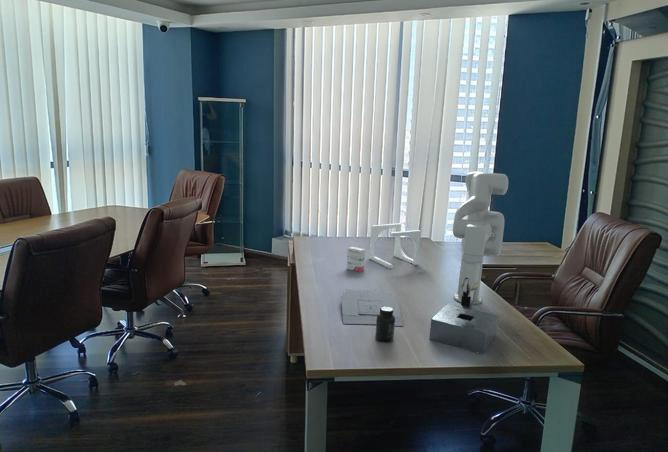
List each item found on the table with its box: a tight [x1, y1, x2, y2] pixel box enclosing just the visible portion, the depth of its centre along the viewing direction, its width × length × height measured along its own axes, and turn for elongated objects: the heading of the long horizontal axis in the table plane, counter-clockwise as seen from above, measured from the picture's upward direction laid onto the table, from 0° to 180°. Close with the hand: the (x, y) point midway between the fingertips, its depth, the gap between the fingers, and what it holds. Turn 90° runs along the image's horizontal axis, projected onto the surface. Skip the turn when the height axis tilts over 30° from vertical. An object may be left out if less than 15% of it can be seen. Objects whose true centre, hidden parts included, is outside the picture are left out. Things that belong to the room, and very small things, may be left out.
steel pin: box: [460, 283, 478, 309], centre depth 186 cm, size 6×6×10 cm
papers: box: [341, 288, 404, 327], centre depth 210 cm, size 24×30×4 cm
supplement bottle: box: [374, 306, 396, 343], centre depth 183 cm, size 7×7×12 cm
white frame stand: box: [368, 222, 422, 269], centre depth 283 cm, size 20×20×20 cm
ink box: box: [346, 246, 366, 273], centre depth 265 cm, size 9×5×12 cm, turn 58°
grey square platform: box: [428, 302, 499, 355], centre depth 189 cm, size 20×20×8 cm
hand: (467, 303), depth 187 cm, fingers closed on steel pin, 4 cm apart
